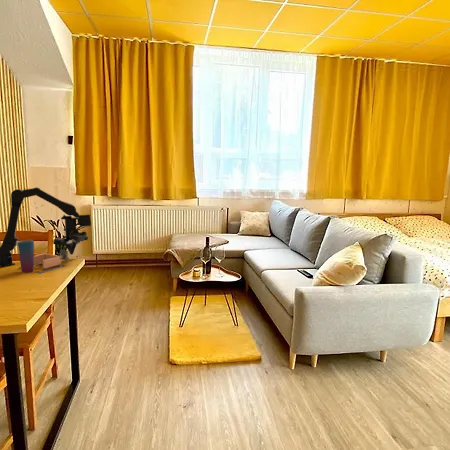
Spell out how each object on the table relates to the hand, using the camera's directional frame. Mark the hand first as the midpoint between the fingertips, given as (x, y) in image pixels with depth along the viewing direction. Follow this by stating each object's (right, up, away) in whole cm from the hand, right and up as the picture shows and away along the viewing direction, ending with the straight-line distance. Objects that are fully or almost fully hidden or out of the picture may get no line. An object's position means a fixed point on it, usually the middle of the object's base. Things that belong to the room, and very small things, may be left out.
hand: (71, 254), depth 186 cm
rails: (-8, -5, -16) cm, 18 cm away
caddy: (-6, -4, -11) cm, 13 cm away
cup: (-11, -6, -23) cm, 26 cm away
